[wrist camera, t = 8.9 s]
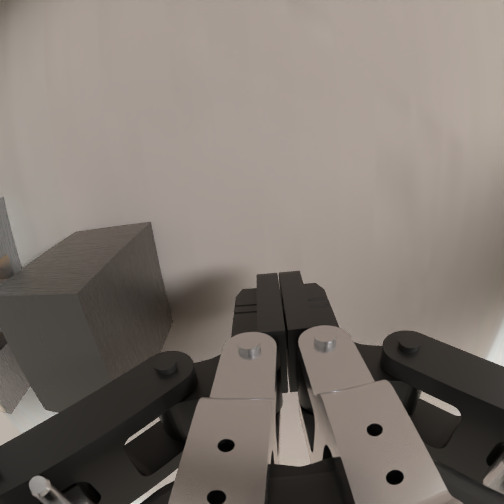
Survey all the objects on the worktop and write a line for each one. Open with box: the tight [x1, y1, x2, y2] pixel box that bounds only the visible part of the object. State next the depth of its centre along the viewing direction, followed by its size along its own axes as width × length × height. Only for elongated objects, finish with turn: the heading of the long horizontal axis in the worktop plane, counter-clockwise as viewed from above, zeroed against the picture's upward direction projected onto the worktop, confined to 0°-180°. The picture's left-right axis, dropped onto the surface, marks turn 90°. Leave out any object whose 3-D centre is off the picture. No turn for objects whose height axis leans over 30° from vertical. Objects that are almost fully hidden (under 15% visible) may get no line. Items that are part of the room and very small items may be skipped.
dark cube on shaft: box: [0, 222, 173, 412], centre depth 11 cm, size 12×5×8 cm, turn 95°
